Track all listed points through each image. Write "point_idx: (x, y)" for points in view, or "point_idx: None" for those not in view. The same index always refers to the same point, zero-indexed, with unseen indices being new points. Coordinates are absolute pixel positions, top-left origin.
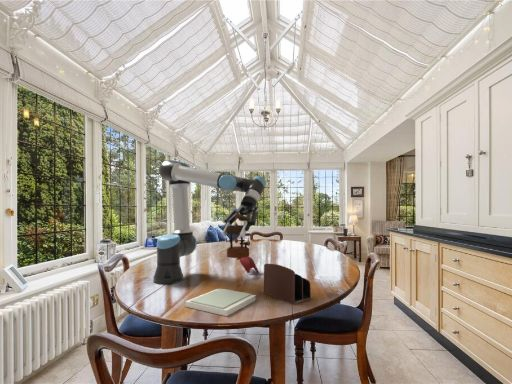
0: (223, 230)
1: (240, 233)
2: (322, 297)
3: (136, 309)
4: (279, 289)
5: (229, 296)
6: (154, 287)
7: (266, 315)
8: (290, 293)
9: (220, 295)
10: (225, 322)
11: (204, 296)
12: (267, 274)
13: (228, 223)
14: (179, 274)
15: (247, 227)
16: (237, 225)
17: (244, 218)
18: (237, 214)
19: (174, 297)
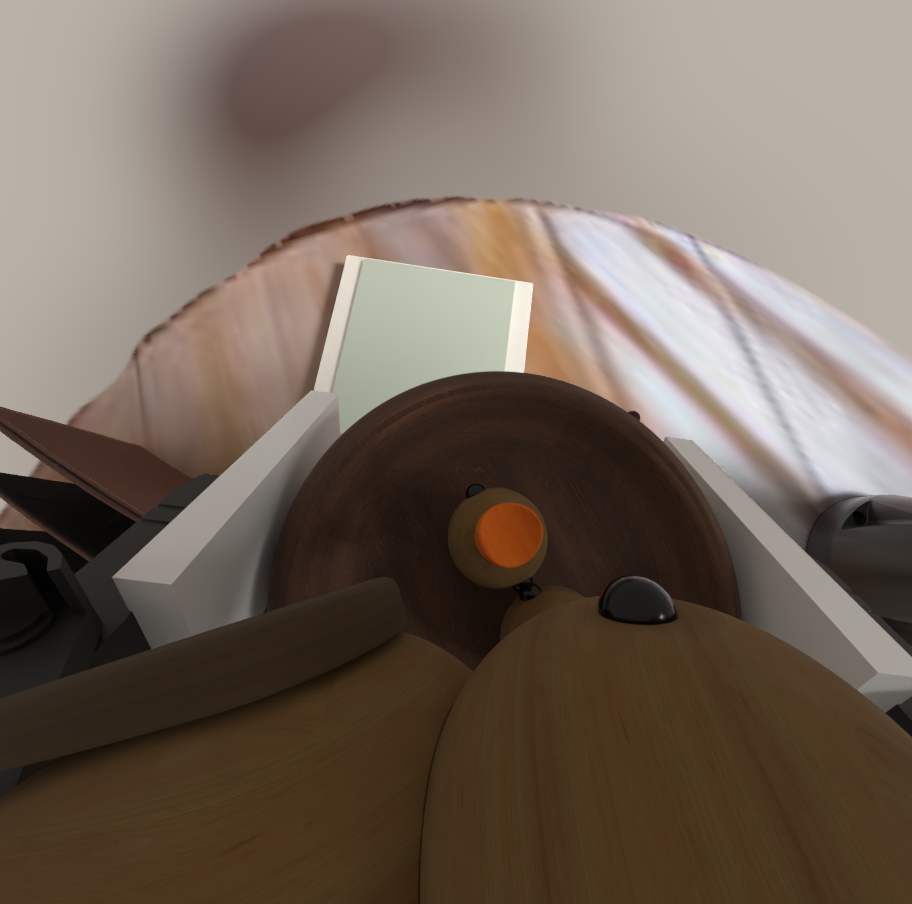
0: (719, 471)
1: (326, 396)
2: None
3: (654, 229)
4: None
5: (398, 368)
6: (823, 442)
7: (225, 314)
8: (122, 448)
9: (440, 367)
10: (333, 231)
11: (493, 335)
12: None
13: (837, 631)
14: (851, 579)
15: (163, 510)
16: (452, 526)
17: (48, 687)
18: (665, 798)
19: (637, 361)
